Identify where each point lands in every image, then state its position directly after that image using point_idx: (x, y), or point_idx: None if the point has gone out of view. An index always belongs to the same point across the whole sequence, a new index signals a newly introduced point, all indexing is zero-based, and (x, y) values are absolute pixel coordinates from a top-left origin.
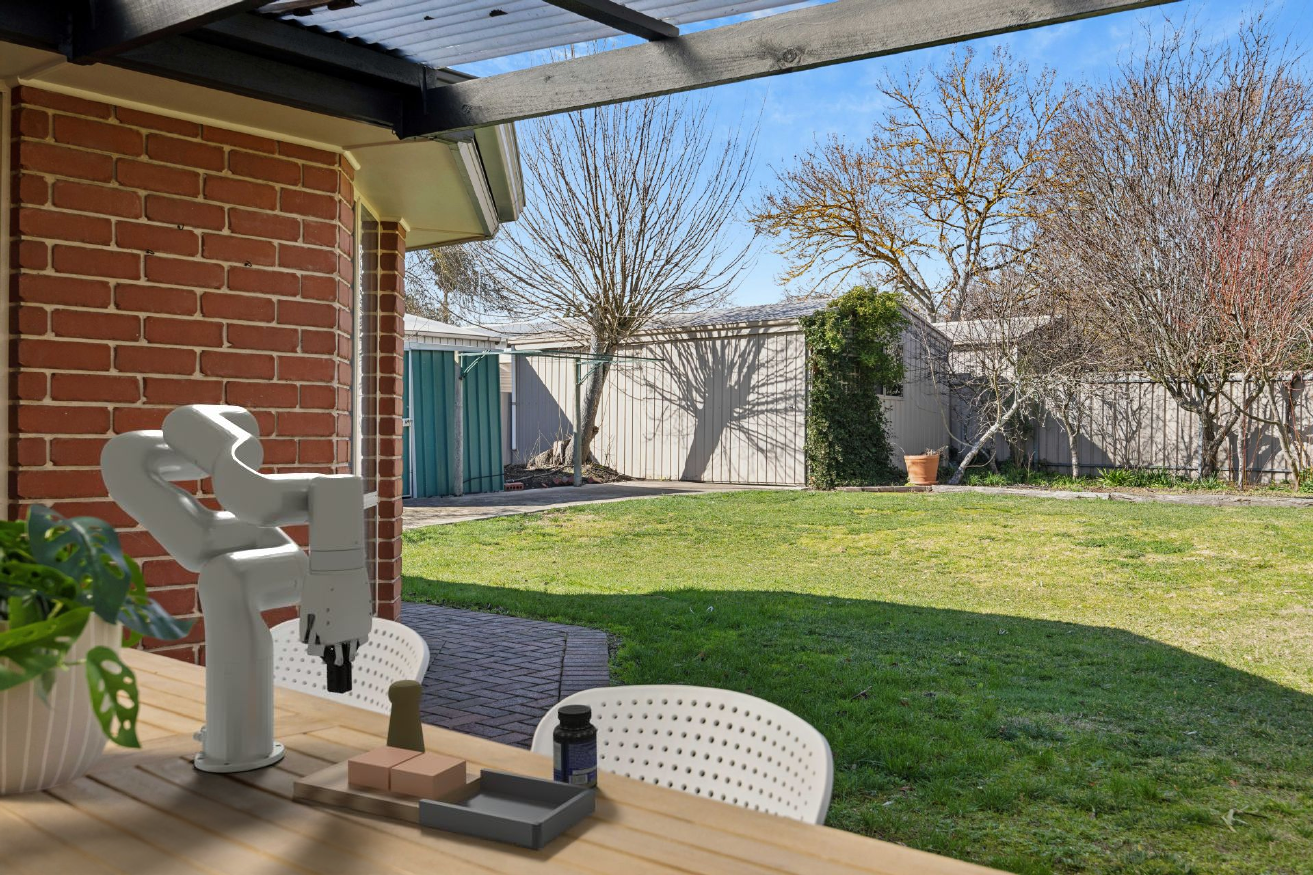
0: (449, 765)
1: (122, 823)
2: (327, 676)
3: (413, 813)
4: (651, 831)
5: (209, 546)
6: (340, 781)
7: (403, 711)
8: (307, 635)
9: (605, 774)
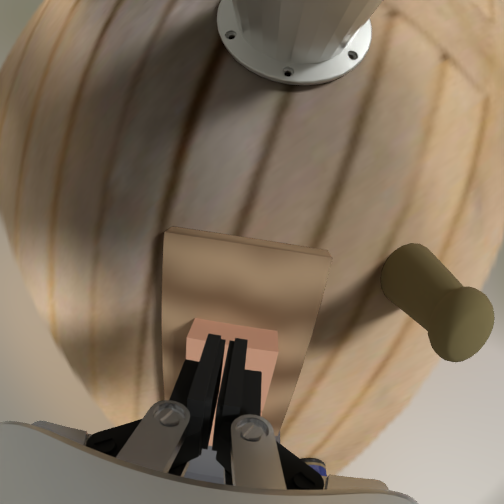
0: None
1: (44, 93)
2: (177, 379)
3: None
4: None
5: None
6: (193, 305)
7: (422, 322)
8: (34, 459)
9: (342, 468)
